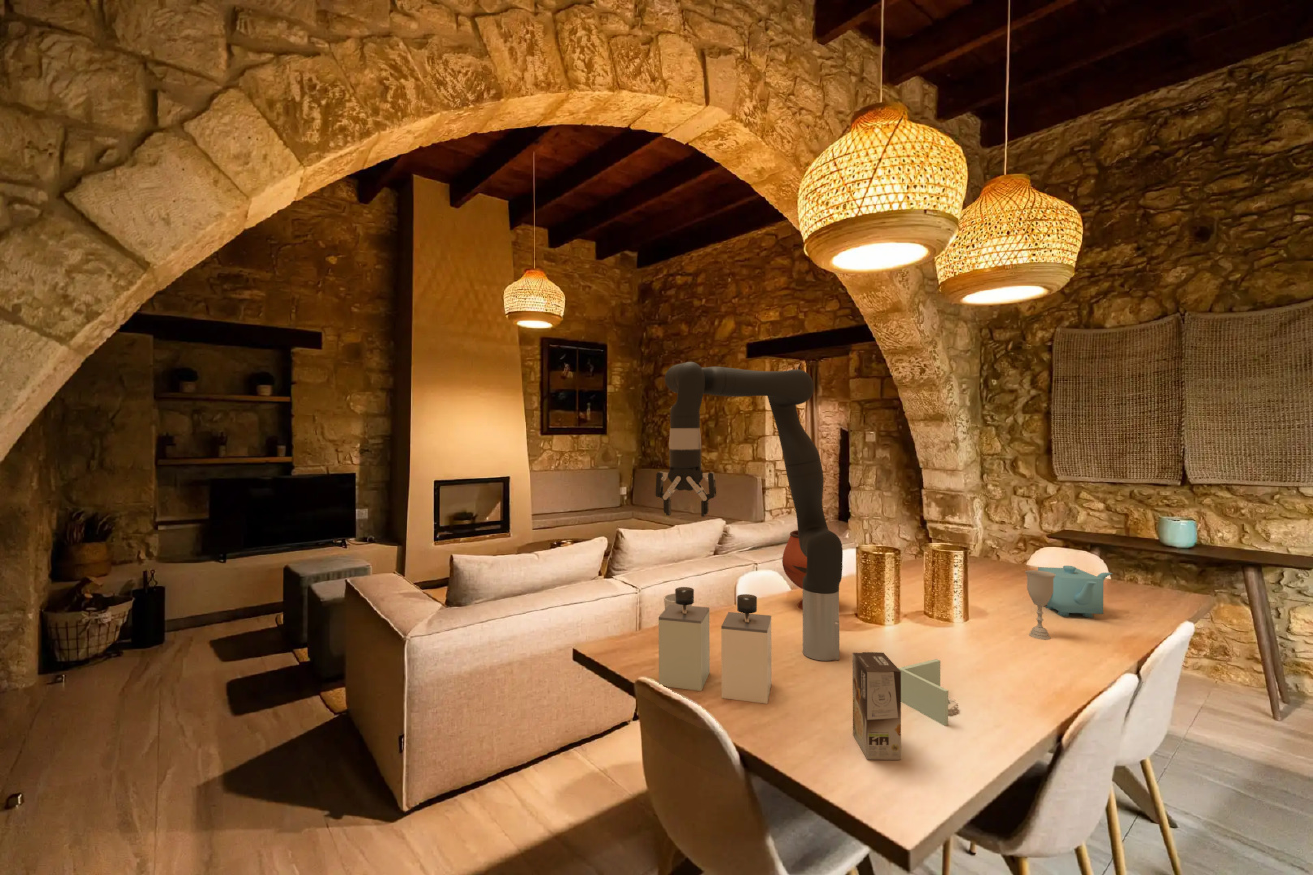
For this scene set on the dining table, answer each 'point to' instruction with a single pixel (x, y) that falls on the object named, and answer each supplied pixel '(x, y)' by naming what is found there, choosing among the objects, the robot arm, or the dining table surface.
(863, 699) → the coffee box
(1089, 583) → the teakettle
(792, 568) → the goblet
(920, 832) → the dining table surface
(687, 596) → the plunger
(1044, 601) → the chalice
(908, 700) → the l-shaped corner panel
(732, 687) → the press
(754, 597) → the plunger
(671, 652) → the block
